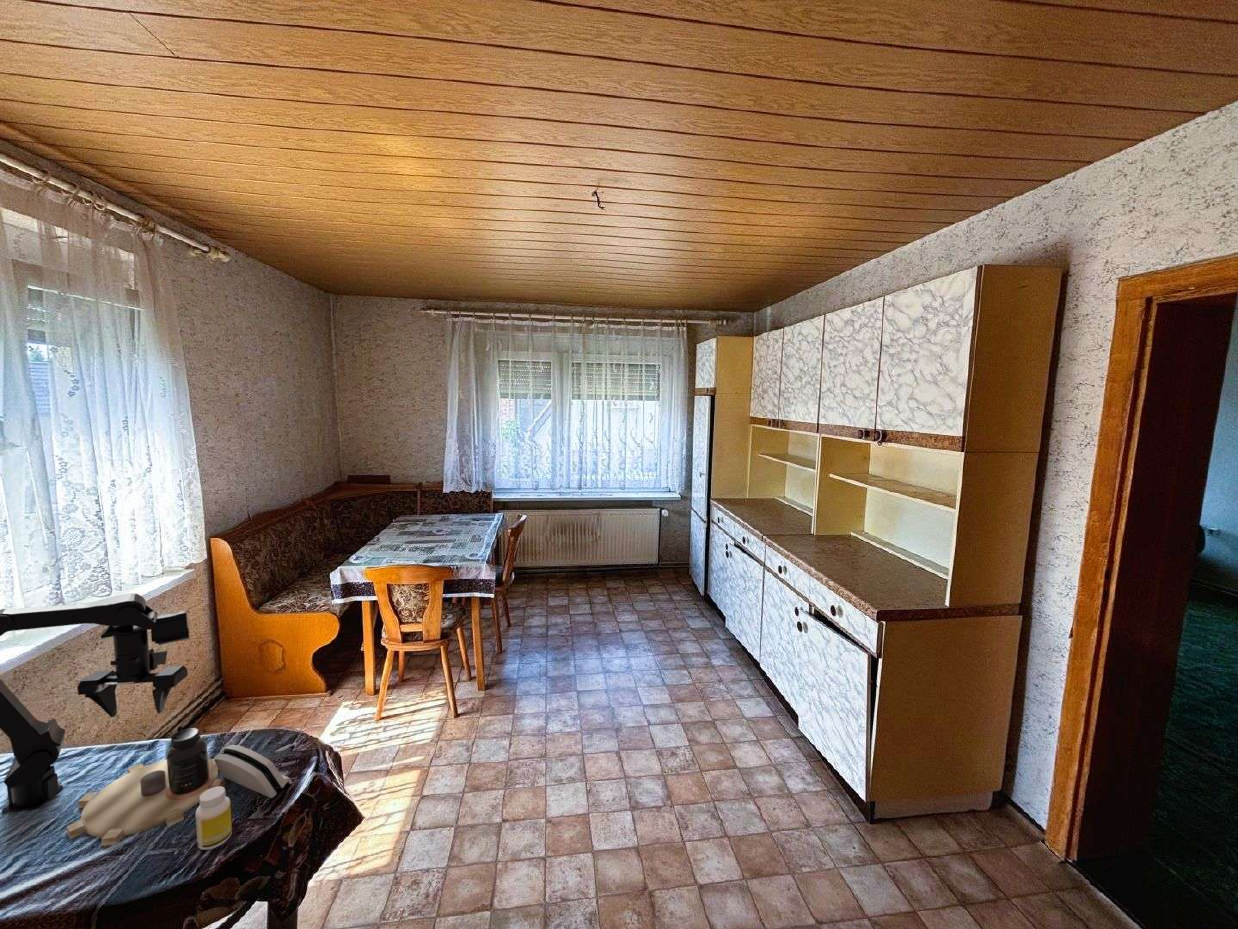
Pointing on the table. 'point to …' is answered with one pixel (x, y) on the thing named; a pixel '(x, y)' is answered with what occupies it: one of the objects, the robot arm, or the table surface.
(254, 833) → the table surface
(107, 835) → the sprocket wheel
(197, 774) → the supplement bottle
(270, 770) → the white arched block
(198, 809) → the supplement bottle
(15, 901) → the table surface
